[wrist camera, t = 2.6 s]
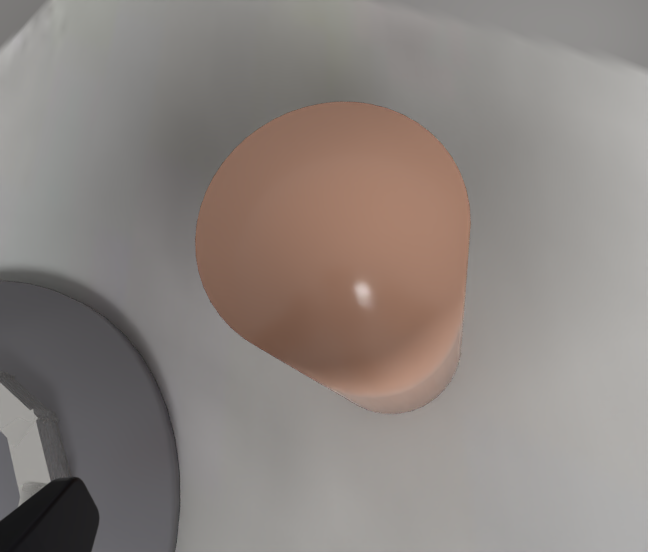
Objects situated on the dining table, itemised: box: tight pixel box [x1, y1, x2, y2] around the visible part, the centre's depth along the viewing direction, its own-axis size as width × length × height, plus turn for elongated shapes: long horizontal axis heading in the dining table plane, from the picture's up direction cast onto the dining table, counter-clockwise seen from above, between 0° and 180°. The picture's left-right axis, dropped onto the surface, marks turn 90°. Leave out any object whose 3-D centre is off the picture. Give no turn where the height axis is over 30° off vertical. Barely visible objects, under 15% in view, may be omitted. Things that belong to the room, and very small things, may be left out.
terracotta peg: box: [195, 102, 471, 414], centre depth 15 cm, size 5×5×11 cm
